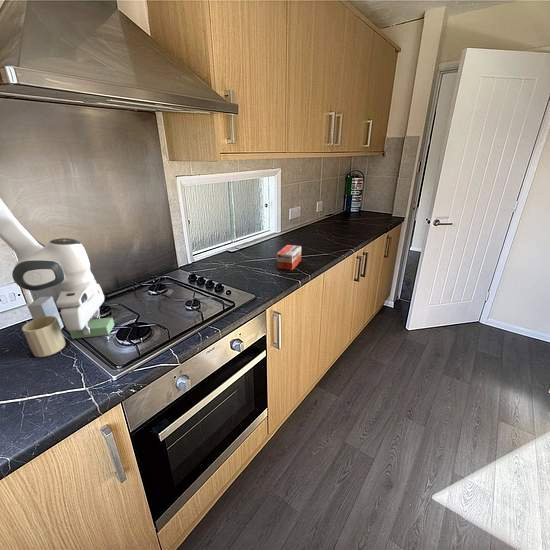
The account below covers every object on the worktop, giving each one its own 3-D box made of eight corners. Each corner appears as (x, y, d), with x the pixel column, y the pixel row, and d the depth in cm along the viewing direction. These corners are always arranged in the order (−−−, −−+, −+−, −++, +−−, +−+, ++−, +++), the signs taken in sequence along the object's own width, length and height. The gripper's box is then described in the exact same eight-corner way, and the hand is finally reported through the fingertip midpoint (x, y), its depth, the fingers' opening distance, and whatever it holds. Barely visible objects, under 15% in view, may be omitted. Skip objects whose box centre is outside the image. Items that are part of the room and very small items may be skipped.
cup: (27, 358, 85) (15, 332, 82) (42, 342, 92) (32, 317, 89) (57, 355, 86) (47, 329, 83) (70, 338, 94) (61, 314, 90)
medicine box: (292, 270, 141) (292, 255, 138) (276, 268, 144) (276, 253, 140) (301, 260, 154) (301, 245, 150) (287, 258, 156) (286, 244, 153)
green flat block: (72, 338, 94) (69, 331, 92) (80, 328, 99) (77, 321, 98) (108, 334, 95) (106, 326, 94) (114, 324, 101) (112, 317, 100)
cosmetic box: (51, 328, 100) (39, 296, 95) (64, 327, 100) (52, 295, 96) (40, 338, 94) (26, 305, 90) (54, 337, 95) (41, 304, 90)
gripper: (83, 277, 100) (94, 312, 105) (52, 306, 81) (67, 346, 87) (103, 275, 101) (113, 310, 106) (77, 303, 82) (90, 344, 88)
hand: (92, 327), depth 96 cm, fingers closed on green flat block, 6 cm apart
